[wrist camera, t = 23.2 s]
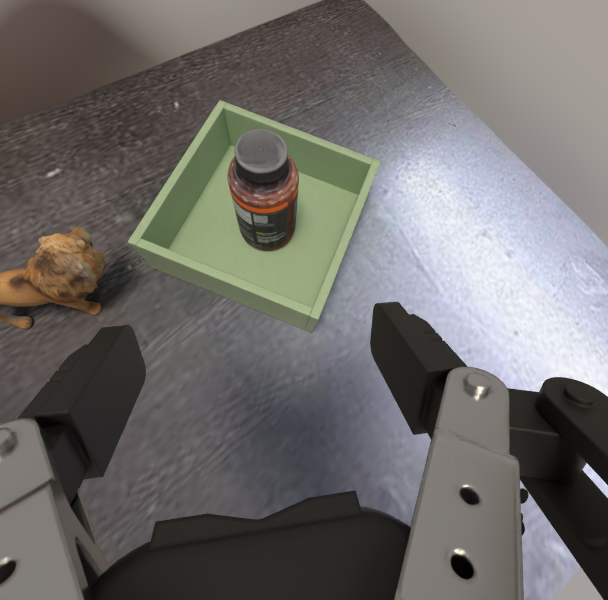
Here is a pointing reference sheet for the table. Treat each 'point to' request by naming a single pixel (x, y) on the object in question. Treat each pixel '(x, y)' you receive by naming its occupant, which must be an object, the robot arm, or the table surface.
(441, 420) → the robot arm
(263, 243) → the supplement bottle
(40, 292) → the lion figurine
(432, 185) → the table surface
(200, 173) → the desk bin
